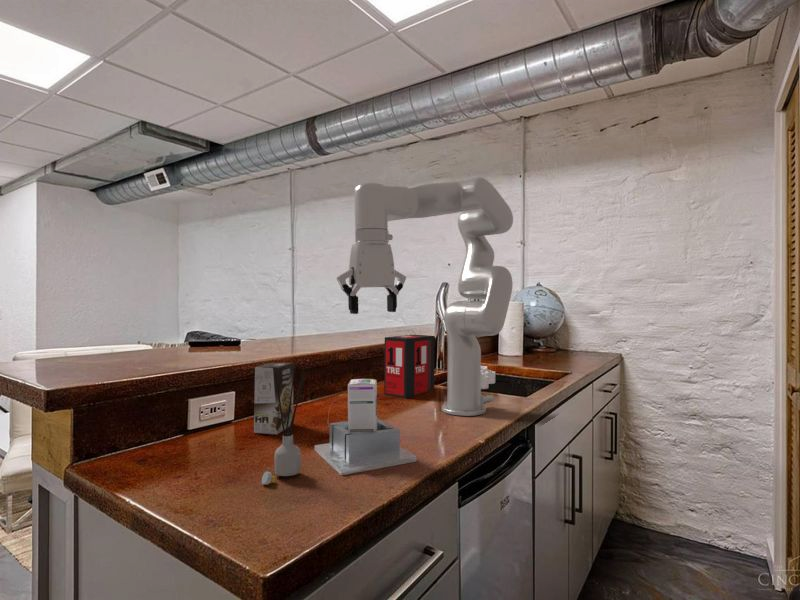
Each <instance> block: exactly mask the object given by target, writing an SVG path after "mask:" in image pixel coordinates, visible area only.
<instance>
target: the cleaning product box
mask: <svg viewBox="0 0 800 600" xmlns="http://www.w3.org/2000/svg"><path fill="white" fill-rule="evenodd" d="M435 337H436V336H435V335H425V334H408V335H407V334H406V335H395V336H385V337H384V363H383V365H384V367H383V368H384V371H383V372H384V378H383V379H384V380H383V381H384V384H383V388H384V390H383V391H384V392H383V394H384V395H385V396H389V397H394V398H401V399H403V400H404V399H410V398H413V397H416V396H418V395H419V396H420V395H422V394H425V393H428V392H433V391H435V339H436V338H435ZM384 395H383V396H384Z"/></svg>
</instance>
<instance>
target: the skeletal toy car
mask: <svg viewBox="0 0 800 600" xmlns="http://www.w3.org/2000/svg"><path fill="white" fill-rule="evenodd" d="M495 383H496V371H493V370H491V369H488V366H487V365H481V390H486V389H487V390H488V389H489V385H493V384H495Z"/></svg>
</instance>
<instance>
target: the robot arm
mask: <svg viewBox="0 0 800 600" xmlns="http://www.w3.org/2000/svg"><path fill="white" fill-rule="evenodd" d="M457 213H459V216H458V218H457V227H458V231H459V233H460V235H461V238H462V239H463V243H464V245H465V257H464V261H463V264H462V268H461V272H460V276H459V280H458V285H457V289H458V293H459V295H460V296H461V297H463V298H465V299H468V300H457V301H454V302H451V303H450V304H449V305H447V307H446V309H445V311H444V314H443V321H444V327H445V333H446V341H447V342H446V343H447V344H446V346H447V360H446V361H447V369H446V370H447V374H446V375H447V378H446V379H447V382H446V383H447V385H446V388H447V389H446V392H447V395H446V397H447V398H446V403H444V404H442V405H441V411H442V412H443V413H445V414H448V415H453V416H460V417H461V416H463V417H465V416H466V417H472V416H473V417H474V416H475V417H476V416H481V415H483V414H486V413H487V407H486V406H485V404H486V403H488V404H489V403H494V402H495V398H494V396H493V395H484V394H482V393H481V392H482V389H481V370H482V369H481V366H482V360H481V359H482V349H481V345H480V343H479V341H478V339H477V337H476V336H485V337H486V336H487V337H488V336H490V337H491V336H497V335H498V334H499V333H500V332H501V331H502V330H503V328H504V325H505V322H506V318H507V314H508V310H509V305H510V302H511V298H512V297H511V296H512V291H513V287H514V286H513V276H512V274H511V272H510V270H509V269H507V268H506V267H505V266H502V265H494V262H495V252H494V249H493V246H492V245H491V244H490V243H489V241H488V239H487V238H486V236H492V235H502V234H505V233H507V232H509V231H510V230H511V228H512V227H513V224H514V216H513V212H512V210H511V208H510V206H509V204H508V203H507V201H506V200H505V199H504V198H503V197H502V195H501V194H500V193H499V191H498V190H497V189H496V188H495V186H494V185H493V184H492V183H491V182H489V180H487V179H486V178H483V177H480V176H479V177H477V176H476V177H473V178H469V179H463V180H459V181H452V182H451V181H449V182H436V183H434V182H433V183H427V184H421V185H416V186H414V187H410V188H409V187H407V186H400V185H399V186H397V185H395V186H391V185H390V186H389V185H383V184H381V183H377V182H366V183H360V184H358V185H356V186H355V188H354V227H355V229H354V230H355V231H354V232H355V233H354V234H355V241H354V242H355V243H354V244H351V249H350V255H349V263H348V264H349V265H348V266H349V267H348V270H347V271H345V272H344V273H341V274H339V275H338V276H337V277H336V280H337V282H338V285H339V286H340V289H341V291H342V292H343V293H344V294H345V295H346V296H347V297H348V298H347V299H348V303H347V304H348V311H349V314H353V315H357V314H359V297H358V295H357V293H358V292H359V291H360V289H361V288H384V289H385V291H386V292H387V293H388V294H387V295H386V309H387V310H386V311H387V312H388V313H389V312H390V313H396V312H397V308H398V296H397V295H399V294H400V291H401V290H402V289H403V287H404V284H405V282H406V280H407V277H406V275H405V274H403V273H401V272H399V271H398V270H396V269H395V262H394V261H395V260H394V256H393V255H394V254H393V250H392V245H391V244H390V243H389V242H390V241H392V240H393V238H394V237H393V234H391V233H390V232H389V229H388V227H389V226H388V222H392V221H399V220H407V219H422V218H430V217H438V216H443V215H450V214H451V215H452V214H457ZM389 233H390V234H389ZM347 279H348V284H347V281H346V280H347ZM396 279H397V282H396V284H395V280H396Z"/></svg>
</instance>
